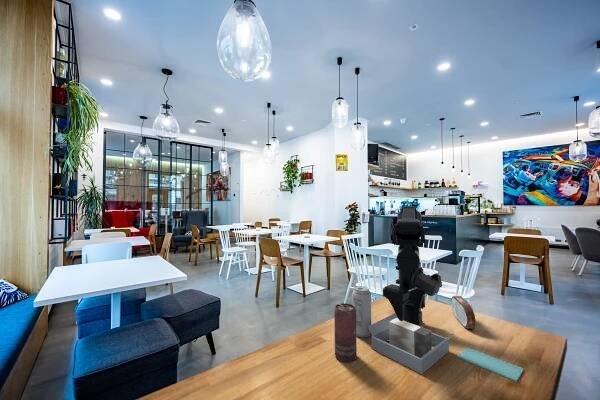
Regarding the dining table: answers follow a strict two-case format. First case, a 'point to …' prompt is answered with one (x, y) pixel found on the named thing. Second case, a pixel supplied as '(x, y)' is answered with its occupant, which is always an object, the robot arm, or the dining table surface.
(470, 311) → the tin
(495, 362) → the mat
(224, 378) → the dining table surface
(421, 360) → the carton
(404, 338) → the block
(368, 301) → the energy drink can
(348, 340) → the can
